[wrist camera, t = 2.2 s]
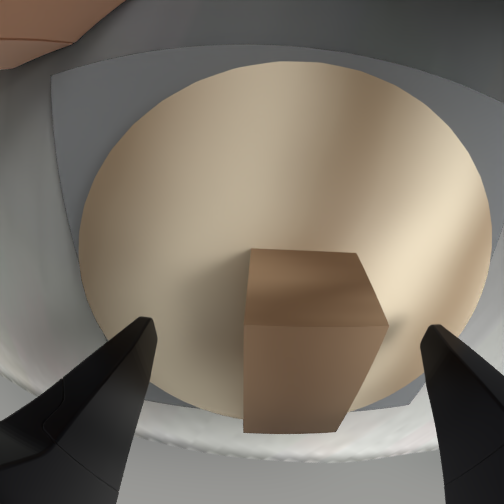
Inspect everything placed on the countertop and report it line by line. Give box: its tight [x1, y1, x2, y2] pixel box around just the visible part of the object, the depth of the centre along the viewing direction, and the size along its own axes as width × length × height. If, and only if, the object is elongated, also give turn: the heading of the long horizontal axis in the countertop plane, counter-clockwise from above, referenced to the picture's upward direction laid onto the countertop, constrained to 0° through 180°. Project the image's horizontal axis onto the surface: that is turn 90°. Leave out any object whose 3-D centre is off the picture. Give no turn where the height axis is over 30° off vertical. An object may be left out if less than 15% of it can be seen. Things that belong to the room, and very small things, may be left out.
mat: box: [51, 44, 504, 412], centre depth 10 cm, size 16×16×1 cm
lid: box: [79, 61, 492, 434], centre depth 8 cm, size 15×15×4 cm
